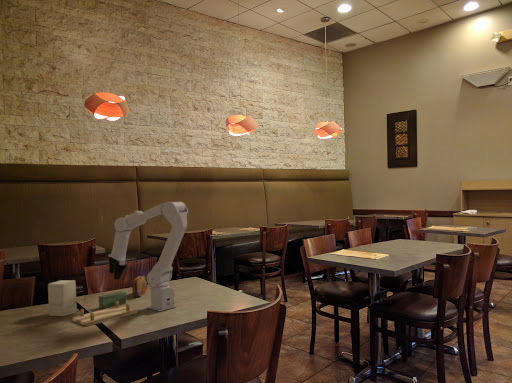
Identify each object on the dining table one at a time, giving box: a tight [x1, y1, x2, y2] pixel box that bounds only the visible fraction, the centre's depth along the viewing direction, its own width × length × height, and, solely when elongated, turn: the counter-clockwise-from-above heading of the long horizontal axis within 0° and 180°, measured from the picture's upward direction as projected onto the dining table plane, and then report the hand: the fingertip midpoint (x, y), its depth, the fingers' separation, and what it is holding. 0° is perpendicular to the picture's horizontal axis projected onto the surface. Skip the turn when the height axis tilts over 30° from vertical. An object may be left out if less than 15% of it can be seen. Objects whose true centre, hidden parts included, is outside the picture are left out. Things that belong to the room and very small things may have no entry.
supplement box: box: [47, 279, 77, 317], centre depth 156 cm, size 7×7×13 cm
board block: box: [98, 290, 127, 310], centre depth 165 cm, size 4×10×5 cm, turn 139°
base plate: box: [71, 301, 138, 327], centre depth 149 cm, size 12×20×4 cm, turn 139°
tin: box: [131, 275, 148, 298], centre depth 184 cm, size 15×3×8 cm, turn 179°
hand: (114, 276), depth 167 cm, fingers open, 7 cm apart
